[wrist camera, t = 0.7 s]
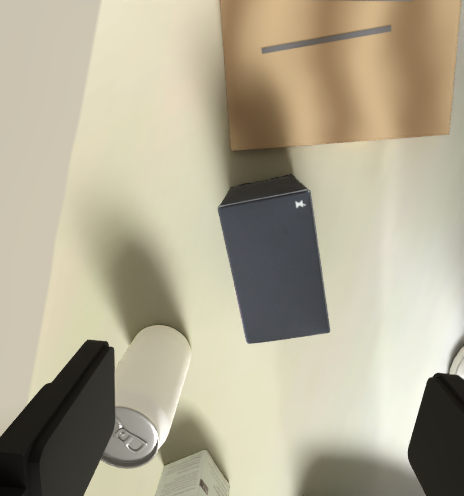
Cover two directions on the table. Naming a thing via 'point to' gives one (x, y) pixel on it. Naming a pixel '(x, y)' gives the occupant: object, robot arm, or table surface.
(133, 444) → the can
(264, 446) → the table surface
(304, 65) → the board
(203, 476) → the skincare box
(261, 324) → the small box
